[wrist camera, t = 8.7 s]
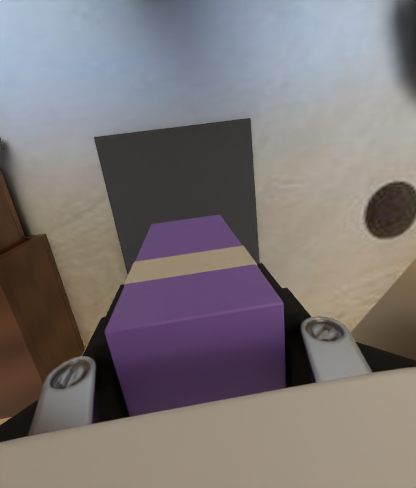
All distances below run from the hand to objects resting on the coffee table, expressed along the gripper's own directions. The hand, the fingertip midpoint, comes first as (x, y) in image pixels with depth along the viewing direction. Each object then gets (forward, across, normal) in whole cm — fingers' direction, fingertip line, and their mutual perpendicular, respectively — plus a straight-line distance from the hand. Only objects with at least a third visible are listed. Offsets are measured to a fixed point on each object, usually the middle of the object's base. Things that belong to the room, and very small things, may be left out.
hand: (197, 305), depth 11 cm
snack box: (+7, 0, 0) cm, 7 cm away
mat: (+20, 0, +1) cm, 20 cm away
